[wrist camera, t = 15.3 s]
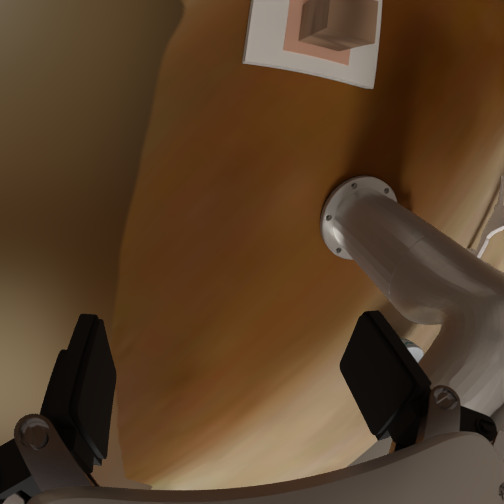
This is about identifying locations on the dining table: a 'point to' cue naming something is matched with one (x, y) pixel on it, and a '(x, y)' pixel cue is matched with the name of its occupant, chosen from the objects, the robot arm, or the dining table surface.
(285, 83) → the dining table surface
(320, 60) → the pocket board
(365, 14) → the walnut block
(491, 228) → the llama figurine
